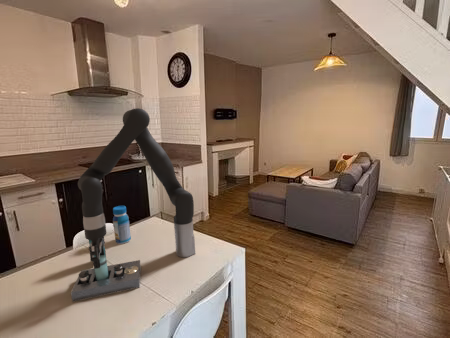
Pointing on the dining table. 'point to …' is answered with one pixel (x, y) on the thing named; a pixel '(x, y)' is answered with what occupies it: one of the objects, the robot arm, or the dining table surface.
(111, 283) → the housing
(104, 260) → the cylinder
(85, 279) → the plunger
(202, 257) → the dining table surface
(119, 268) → the plunger
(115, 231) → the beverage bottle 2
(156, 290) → the dining table surface
